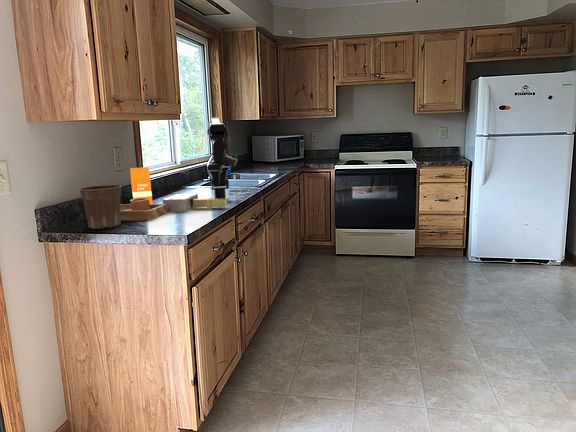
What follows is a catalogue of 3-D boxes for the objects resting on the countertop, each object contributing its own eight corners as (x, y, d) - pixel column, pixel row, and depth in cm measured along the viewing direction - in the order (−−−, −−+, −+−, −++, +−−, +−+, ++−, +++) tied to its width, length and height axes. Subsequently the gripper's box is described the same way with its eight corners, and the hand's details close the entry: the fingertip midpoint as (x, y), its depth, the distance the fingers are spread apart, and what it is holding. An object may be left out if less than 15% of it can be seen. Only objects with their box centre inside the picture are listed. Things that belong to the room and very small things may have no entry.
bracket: (142, 211, 213) (141, 197, 211) (154, 213, 208) (152, 198, 207) (109, 219, 198) (107, 204, 197) (121, 221, 194) (119, 205, 192)
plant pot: (98, 222, 193) (93, 184, 190) (133, 221, 191) (129, 184, 187) (75, 230, 177) (69, 190, 174) (112, 230, 175) (107, 189, 172)
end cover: (197, 206, 219) (196, 197, 218) (227, 206, 216) (227, 197, 215) (192, 208, 214) (192, 199, 213) (224, 208, 211) (223, 199, 210)
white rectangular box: (177, 205, 226) (176, 194, 225) (198, 205, 224) (197, 193, 223) (163, 211, 211) (162, 199, 210) (185, 211, 209) (184, 199, 208)
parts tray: (115, 212, 214) (114, 204, 213) (167, 212, 209) (167, 204, 208) (94, 220, 197) (93, 211, 196) (150, 220, 192) (149, 211, 192)
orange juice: (153, 208, 223) (149, 167, 219) (134, 209, 220) (130, 168, 216) (152, 205, 231) (148, 166, 227) (133, 207, 228) (129, 167, 224)
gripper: (229, 151, 202) (231, 186, 205) (240, 148, 220) (242, 180, 223) (205, 152, 204) (208, 186, 207) (218, 149, 222) (221, 180, 225)
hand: (221, 183), depth 216 cm, fingers open, 9 cm apart
